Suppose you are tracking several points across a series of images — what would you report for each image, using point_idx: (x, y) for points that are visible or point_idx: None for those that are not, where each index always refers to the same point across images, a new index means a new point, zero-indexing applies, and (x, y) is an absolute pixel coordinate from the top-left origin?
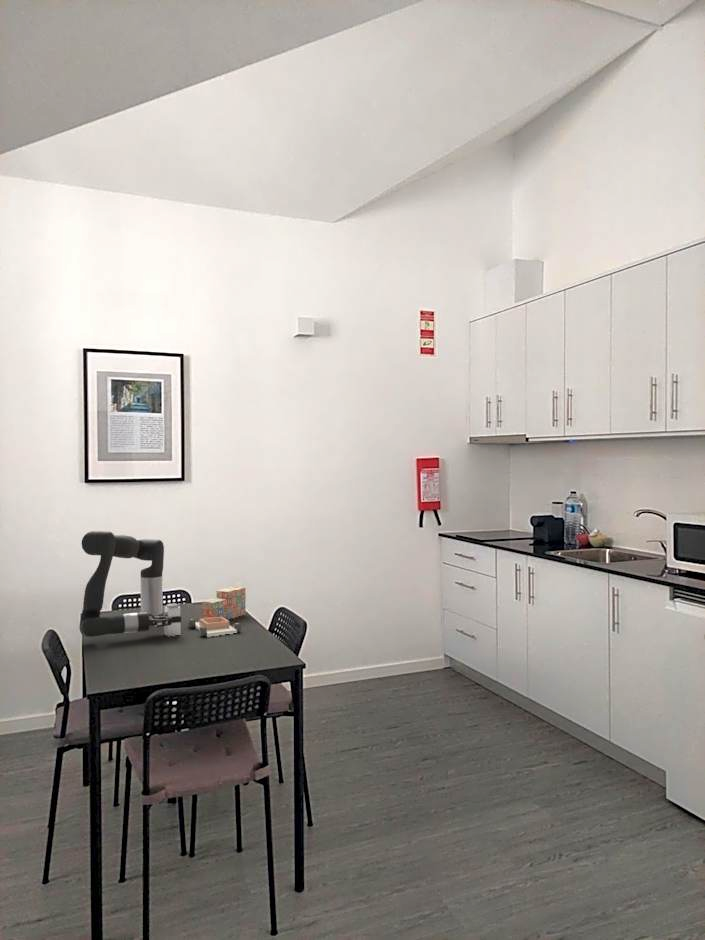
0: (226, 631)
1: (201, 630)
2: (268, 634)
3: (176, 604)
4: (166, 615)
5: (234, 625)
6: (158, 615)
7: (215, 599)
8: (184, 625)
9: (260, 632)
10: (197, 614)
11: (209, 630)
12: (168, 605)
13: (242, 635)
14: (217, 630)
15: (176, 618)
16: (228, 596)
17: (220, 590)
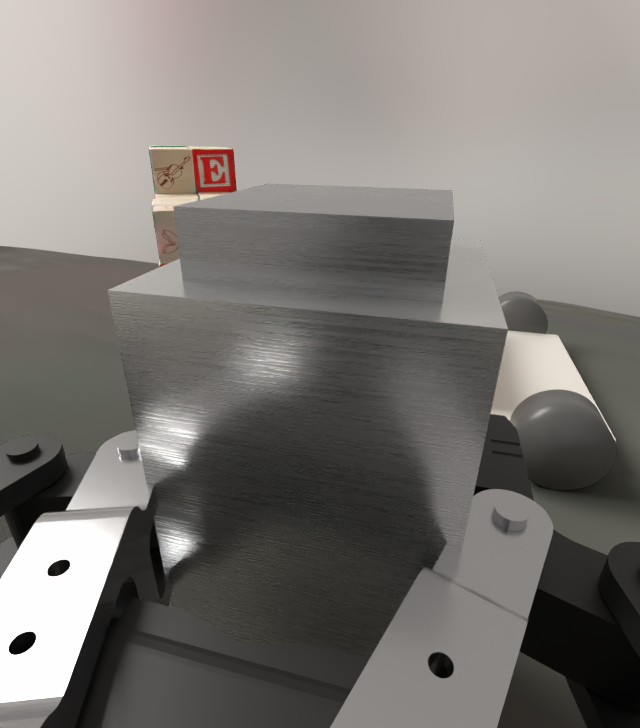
0: (572, 365)
1: (606, 442)
2: (615, 313)
3: (388, 190)
4: (331, 503)
5: (515, 314)
6: (95, 647)
7: (189, 197)
8: (109, 423)
9: (561, 314)
10: (6, 317)
11: (508, 402)
12: (381, 218)
13: (606, 356)
14: (530, 379)
15: (522, 458)
16: (234, 177)
17: (165, 148)
